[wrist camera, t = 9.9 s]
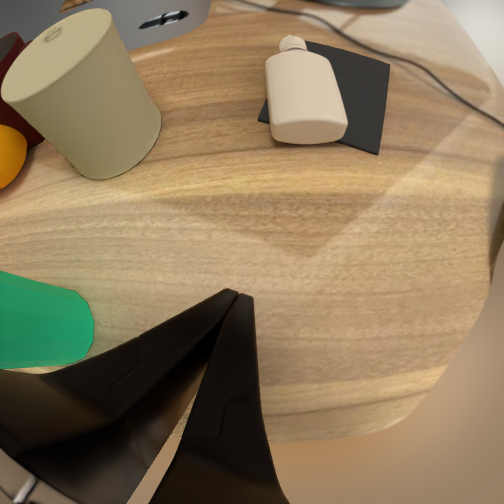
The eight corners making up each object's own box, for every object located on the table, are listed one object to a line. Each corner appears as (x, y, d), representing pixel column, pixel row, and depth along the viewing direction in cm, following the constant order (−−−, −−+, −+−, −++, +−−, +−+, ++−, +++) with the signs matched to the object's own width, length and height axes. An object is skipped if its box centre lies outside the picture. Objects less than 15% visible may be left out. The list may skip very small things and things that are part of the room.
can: (147, 83, 26) (102, -10, 14) (175, 146, 24) (118, 34, 12) (69, 128, 26) (4, 55, 14) (81, 199, 23) (-11, 124, 12)
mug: (99, 76, 27) (56, 7, 16) (78, 139, 25) (15, 67, 14) (24, 104, 28) (-22, 54, 17) (2, 163, 26) (-58, 116, 15)
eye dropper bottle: (288, 156, 24) (275, 60, 27) (354, 137, 21) (325, 42, 24) (261, 130, 21) (252, 33, 23) (337, 104, 18) (307, 11, 21)
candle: (84, 376, 20) (-38, 392, 8) (33, 344, 21) (-79, 337, 9) (103, 304, 21) (-21, 275, 9) (50, 279, 22) (-62, 240, 10)
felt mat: (377, 155, 22) (378, 153, 22) (257, 121, 24) (257, 118, 24) (389, 66, 25) (390, 64, 25) (294, 40, 26) (294, 38, 26)
